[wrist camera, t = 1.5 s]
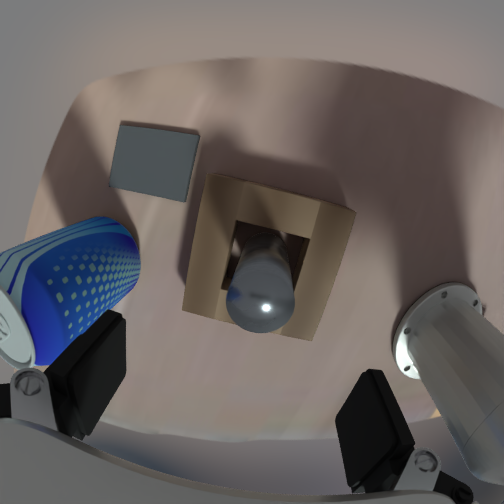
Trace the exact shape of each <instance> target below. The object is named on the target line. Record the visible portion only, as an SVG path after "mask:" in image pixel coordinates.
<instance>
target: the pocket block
mask: <svg viewBox="0 0 504 504" xmlns="http://www.w3.org/2000/svg"><path fill="white" fill-rule="evenodd" d="M355 216H356V212H355V211H353V210H351V209H349V208H347V207H344V206H341V205H337V204H334V203H331V202H327V201H324V200H320V199H317V198H313V197H309V196H306V195H302V194H298V193H294V192H291V191H287V190H283V189H279V188H275V187H271V186H267V185H263V184H259V183H255V182H251V181H246V180H242V179H238V178H233V177H229V176H224V175H220V174H215V173H213V174H206V179H205V184H204V188H203V193H202V198H201V203H200V208H199V213H198V218H197V223H196V228H195V234H194V239H193V244H192V250H191V256H190V262H189V267H188V274H187V280H186V286H185V292H184V299H183V306H182V310H183V311H187V312H190V313H194V314H197V315H201V316H205V317H208V318H212V319H216V320H220V321H224V322H228V323H232V324H236V323H235V322H234V321H233V320H232V319H231V317H230V316H229V314H228V311H227V308H226V295H227V292H228V289H229V286H230V284H231V281H232V278H230V277H226V274H227V269H228V265H229V260H230V256H231V251H232V247H233V242H234V238H235V234H236V229H237V225H238V221H242V222H246V223H250V224H254V225H258V226H262V227H266V228H270V229H274V230H278V231H282V232H286V233H290V234H294V235H298V236H302V237H304V240H303V244H302V247H301V251H300V254H299V258H298V261H297V264H296V268H295V271H294V274H293V278H292V284H293V291H294V297H295V308H294V312H293V314H292V316H291V318H290V319H289V321H288V322H287V323H286V324H285V325H284V326H282V327H281V328H279V329H277V330H275V331H272V332H270V333H274V334H279V335H284V336H288V337H293V338H298V339H303V340H308V341H312V340H313V337H314V335H315V332H316V330H317V327H318V324H319V322H320V319H321V317H322V314H323V311H324V309H325V306H326V303H327V301H328V298H329V295H330V292H331V290H332V287H333V284H334V281H335V278H336V275H337V273H338V270H339V267H340V264H341V261H342V258H343V255H344V251H345V248H346V245H347V242H348V239H349V236H350V232H351V229H352V226H353V222H354V219H355ZM236 325H237V324H236Z"/></svg>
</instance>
